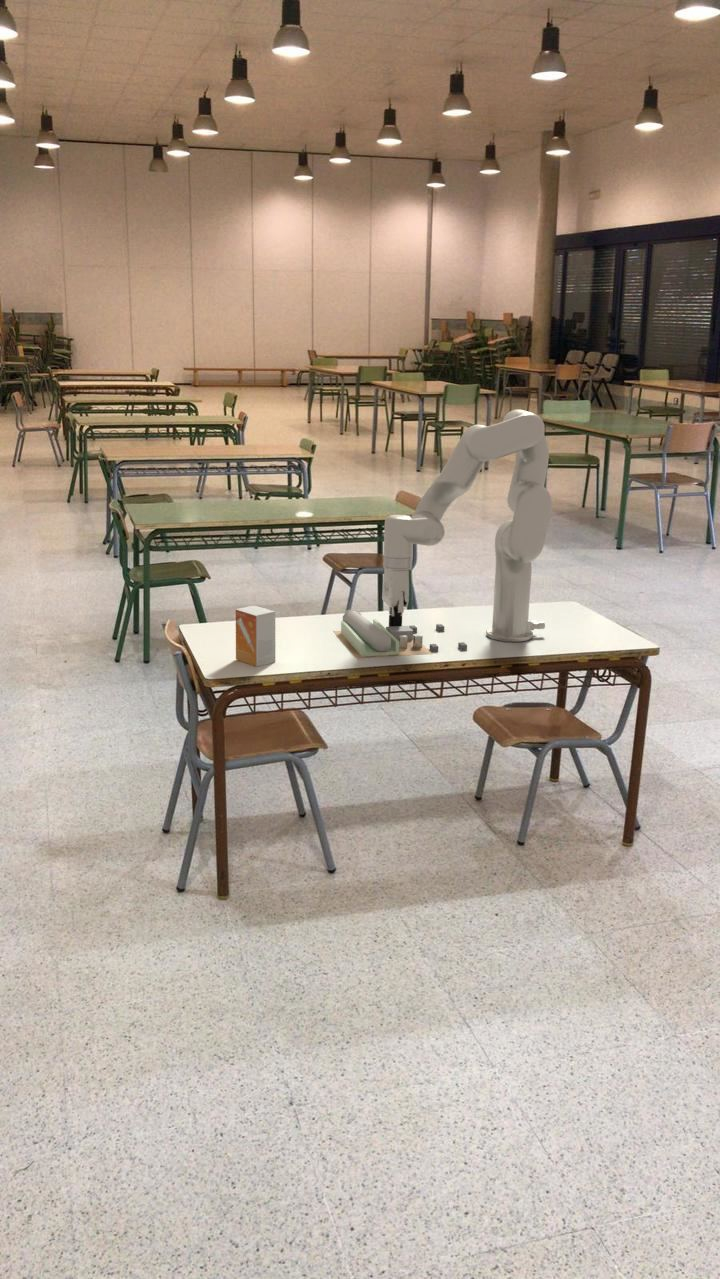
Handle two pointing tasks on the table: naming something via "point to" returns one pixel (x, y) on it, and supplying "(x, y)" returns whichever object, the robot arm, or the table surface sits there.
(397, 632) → the grey faceted block
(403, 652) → the board
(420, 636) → the bench dogs
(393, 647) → the tray
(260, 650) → the small box
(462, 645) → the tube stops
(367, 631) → the tube
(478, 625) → the table surface
